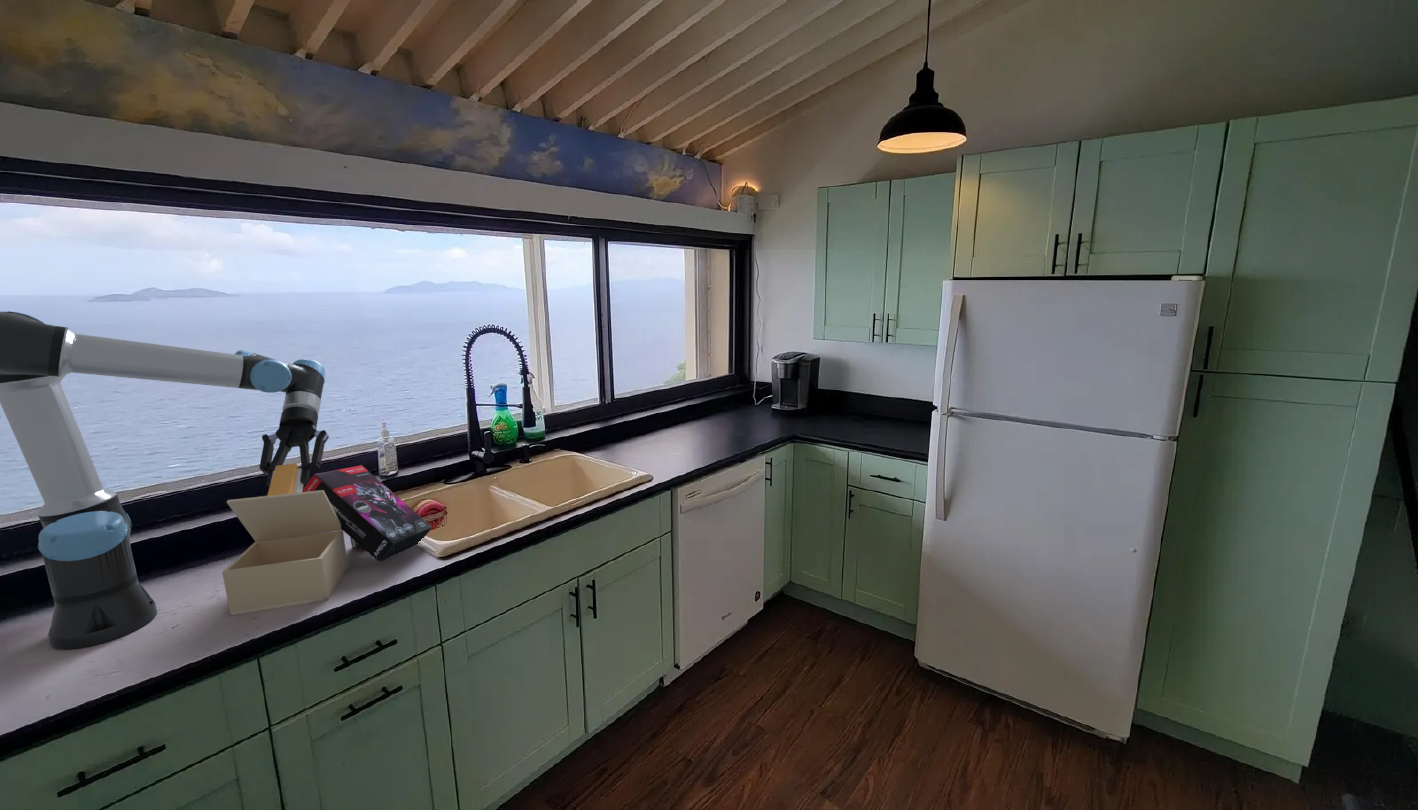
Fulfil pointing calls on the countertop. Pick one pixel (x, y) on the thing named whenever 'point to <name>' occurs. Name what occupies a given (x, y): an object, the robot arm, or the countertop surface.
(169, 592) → the countertop surface
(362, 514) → the graphics card box
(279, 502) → the carton flap
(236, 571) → the carton
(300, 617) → the countertop surface
